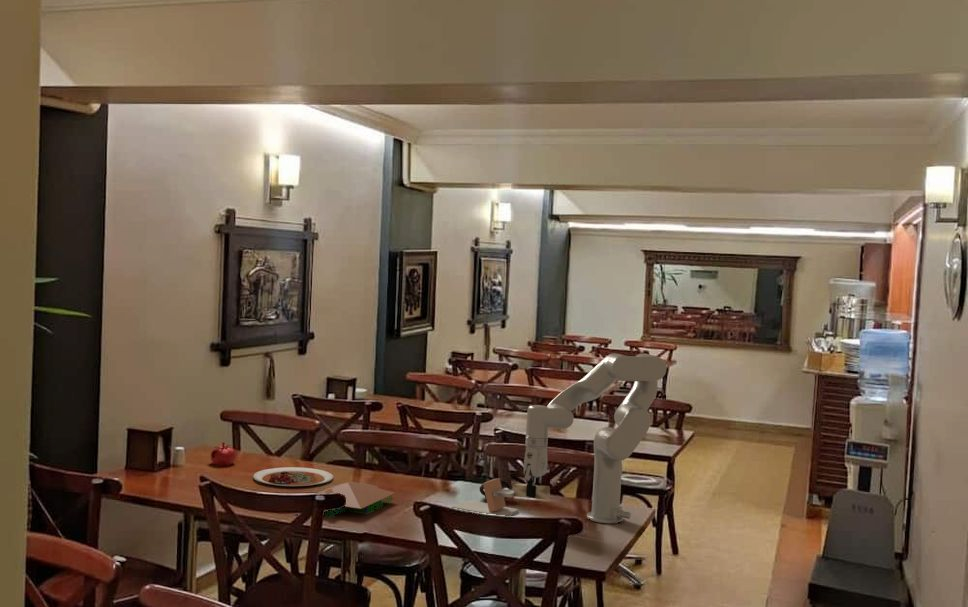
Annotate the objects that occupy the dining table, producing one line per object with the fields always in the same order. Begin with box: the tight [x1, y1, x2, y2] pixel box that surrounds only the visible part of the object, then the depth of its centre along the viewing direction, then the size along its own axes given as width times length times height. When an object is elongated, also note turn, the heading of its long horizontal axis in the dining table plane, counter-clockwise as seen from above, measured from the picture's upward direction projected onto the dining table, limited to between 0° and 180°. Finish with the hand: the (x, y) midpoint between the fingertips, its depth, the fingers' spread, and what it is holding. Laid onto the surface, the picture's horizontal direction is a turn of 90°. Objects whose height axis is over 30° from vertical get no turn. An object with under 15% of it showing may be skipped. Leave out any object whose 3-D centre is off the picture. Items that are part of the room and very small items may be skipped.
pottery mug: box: [479, 478, 513, 501], centre depth 336 cm, size 12×9×8 cm
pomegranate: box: [210, 441, 237, 467], centre depth 370 cm, size 10×10×9 cm
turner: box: [493, 482, 551, 500], centre depth 313 cm, size 19×7×4 cm, turn 63°
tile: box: [482, 477, 507, 512], centre depth 318 cm, size 3×8×10 cm, turn 152°
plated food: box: [252, 466, 334, 487], centre depth 352 cm, size 30×30×3 cm
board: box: [451, 499, 519, 517], centre depth 320 cm, size 20×12×1 cm, turn 62°
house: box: [314, 480, 396, 518], centre depth 318 cm, size 23×33×8 cm
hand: (533, 495), depth 311 cm, fingers closed on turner, 3 cm apart
